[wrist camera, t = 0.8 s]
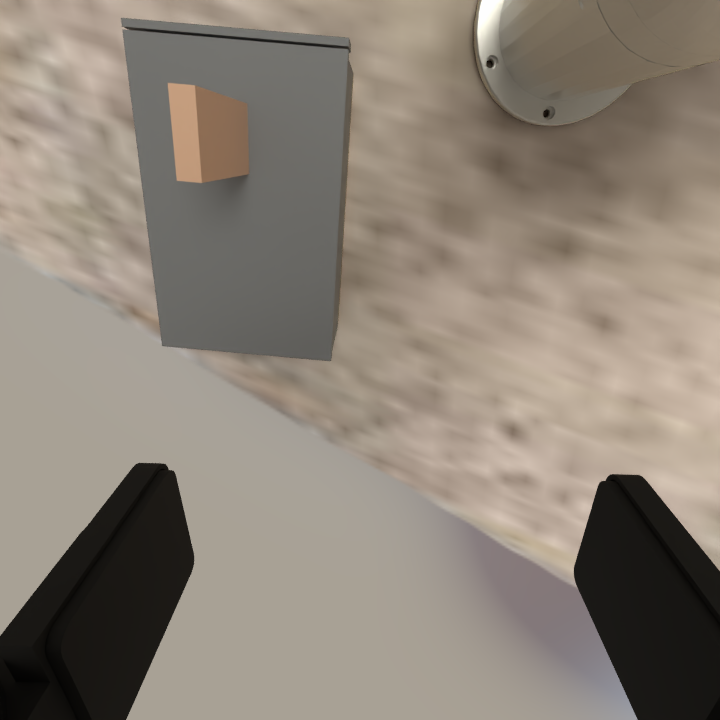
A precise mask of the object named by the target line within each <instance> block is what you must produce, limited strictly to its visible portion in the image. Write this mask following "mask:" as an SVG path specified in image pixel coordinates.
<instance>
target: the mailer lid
mask: <svg viewBox="0 0 720 720" xmlns="http://www.w3.org/2000/svg"><path fill="white" fill-rule="evenodd" d="M121 22H122V27H124V28H127V29H129V30H123V29H122V30H123V38H124V46H125V54H126V62H127V70H128V78H129V86H130V94H131V102H132V110H133V117H134V125H135V133H136V141H137V149H138V157H139V165H140V173H141V181H142V189H143V197H144V205H145V213H146V221H147V229H148V237H149V244H150V252H151V260H152V268H153V276H154V284H155V292H156V300H157V308H158V316H159V324H160V332H161V340H162V346H167V347H178V348H189V349H201V350H212V351H223V352H234V353H245V354H257V355H268V356H279V357H290V358H301V359H312V360H324V361H331V358H332V341H333V323H334V306H335V288H336V271H337V253H338V236H339V218H340V201H341V183H342V166H343V148H344V131H345V113H346V96H347V78H348V61H349V53H350V52H351V43H350V40H349V38H345V37H333V36H322V35H311V34H299V33H288V32H277V31H265V30H254V29H242V28H231V27H220V26H208V25H197V24H186V23H174V22H163V21H152V20H140V19H129V18H121Z"/></svg>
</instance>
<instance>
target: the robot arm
mask: <svg viewBox="0 0 720 720" xmlns="http://www.w3.org/2000/svg"><path fill="white" fill-rule="evenodd" d="M474 50H475V56H476V62H477V67H478V70H479V73H480V75H481V78H482V81H483V83H484V85H485V87H486V88H487V90H488V92H489V93H490V95H491V97H492V98H493V99H494V100H495V101H496V102H497V104H498V105H499V106H500V107H501V108H502V109H503V110H505V111H506V112H507V113H509V114H510V115H512V116H513V117H515V118H517V119H519V120H522V121H524V122H527V123H529V124H535V125H542V126H557V125H565V124H570V123H575V122H578V121H580V120H583V119H585V118H588V117H591V116H593V115H594V114H596V113H598V112H600V111H601V110H603V109H605V108H606V107H608V106H609V105H610V104H612V103H613V102H614V101H615V100H616V99H618V98H619V97H620V96H621V95H622V94H624V92H625V91H626V90H627V89H628V88H629V87H630V86H631V85H632V84H633V83H635V82H639V81H643V80H646V79H650V78H654V77H658V76H662V75H665V74H669V73H673V72H677V71H680V70H684V69H688V68H692V67H696V66H699V65H703V64H706V63H710V62H714V61H718V60H720V0H479V1H478V4H477V9H476V16H475V22H474ZM488 60H490V61H492V67H491V68H488V67H487V66H486V63H487V61H488ZM544 110H547V111H548V115H547V117H546V118H545V117H543V112H544ZM193 565H194V553H193V548H192V544H191V540H190V535H189V531H188V527H187V522H186V518H185V513H184V510H183V505H182V500H181V496H180V492H179V488H178V483H177V479H176V475H175V472H174V471H172V470H168V467H167V466H166V464H159V463H138V464H136V465H135V466H134V467H133V468H132V469H131V470H130V472H129V473H128V474H127V476H126V477H125V478H124V480H123V481H122V482H121V483H120V485H119V486H118V487H117V488H116V490H115V491H114V493H113V494H112V495H111V496H110V497H109V499H108V500H107V501H106V503H105V504H104V505H103V506H102V508H101V509H100V510H99V512H98V513H97V514H96V516H95V517H94V518H93V519H92V521H91V522H90V523H89V525H88V526H87V527H86V528H85V529H84V530H83V531H82V532H81V533H80V534H79V536H78V537H77V538H76V540H75V541H74V542H73V544H72V545H71V546H70V547H69V549H68V550H67V551H66V553H65V554H64V555H63V556H62V557H61V559H60V560H59V562H58V563H57V564H56V565H55V566H54V568H53V569H52V570H51V572H50V573H49V574H48V576H47V577H46V578H45V579H44V581H43V582H42V583H41V584H40V586H39V587H38V588H37V590H36V591H35V592H34V593H33V595H32V596H31V597H30V599H29V600H28V601H27V602H26V604H25V605H24V606H23V607H22V609H21V610H20V611H19V613H18V614H17V615H16V617H15V618H14V619H13V620H12V622H11V623H10V624H9V625H8V627H7V628H6V629H5V631H4V632H3V633H2V634H1V636H0V720H126V719H127V716H128V714H129V712H130V710H131V707H132V705H133V703H134V701H135V698H136V696H137V694H138V691H139V689H140V687H141V685H142V683H143V680H144V678H145V676H146V674H147V671H148V669H149V667H150V665H151V662H152V660H153V658H154V656H155V653H156V651H157V649H158V647H159V644H160V642H161V640H162V638H163V635H164V633H165V631H166V629H167V626H168V624H169V622H170V620H171V617H172V615H173V613H174V611H175V608H176V606H177V604H178V602H179V599H180V597H181V595H182V593H183V590H184V588H185V586H186V583H187V581H188V579H189V577H190V575H191V572H192V569H193ZM574 578H575V582H576V585H577V587H578V589H579V592H580V594H581V596H582V598H583V600H584V602H585V605H586V607H587V609H588V611H589V614H590V616H591V618H592V620H593V622H594V624H595V627H596V629H597V631H598V633H599V636H600V638H601V640H602V642H603V644H604V646H605V649H606V651H607V653H608V655H609V657H610V660H611V662H612V664H613V666H614V668H615V671H616V673H617V675H618V677H619V679H620V682H621V684H622V686H623V688H624V690H625V692H626V695H627V697H628V699H629V701H630V704H631V706H632V708H633V710H634V712H635V715H636V717H637V719H638V720H720V571H719V570H718V569H717V567H716V566H715V565H714V564H713V562H712V561H711V560H710V559H709V557H708V556H707V555H706V554H705V553H704V551H703V550H702V549H701V548H700V546H699V545H698V544H697V543H696V541H695V540H694V539H693V538H692V536H691V535H690V534H689V533H688V532H687V530H686V529H685V528H684V527H683V525H682V524H681V523H680V522H679V520H678V519H677V518H676V517H675V516H674V514H673V513H672V512H671V511H670V509H669V508H668V507H667V506H666V504H665V503H664V502H663V501H662V499H661V498H660V497H659V496H658V495H657V493H656V492H655V491H654V490H653V488H652V487H651V486H650V485H649V483H648V482H647V481H646V480H645V479H644V478H643V477H642V476H640V475H618V474H612V475H609V476H608V477H607V479H606V481H601V482H600V483H599V485H598V488H597V492H596V495H595V498H594V502H593V505H592V509H591V512H590V515H589V519H588V522H587V525H586V529H585V532H584V536H583V539H582V542H581V546H580V549H579V552H578V556H577V559H576V563H575V566H574Z"/></svg>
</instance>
